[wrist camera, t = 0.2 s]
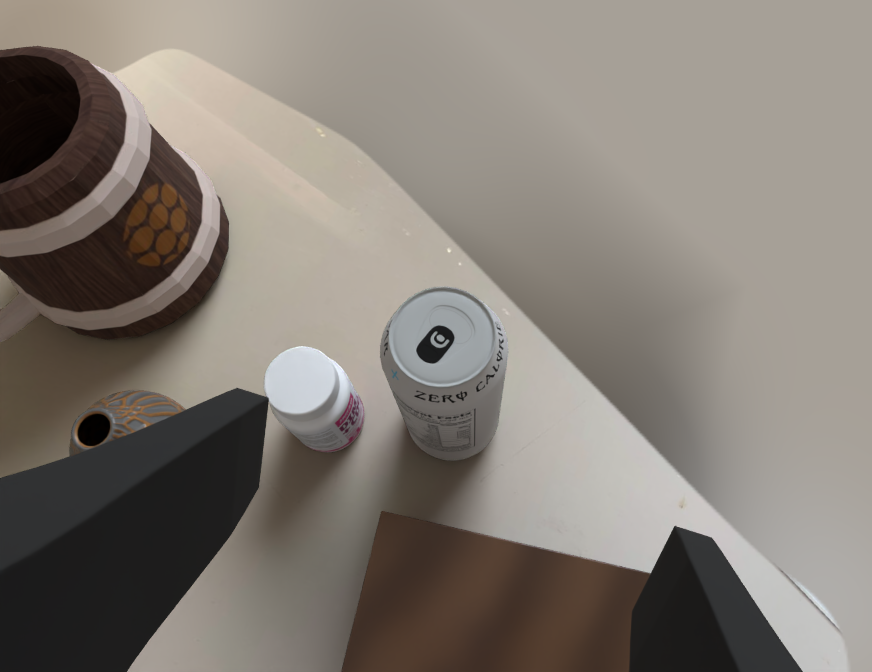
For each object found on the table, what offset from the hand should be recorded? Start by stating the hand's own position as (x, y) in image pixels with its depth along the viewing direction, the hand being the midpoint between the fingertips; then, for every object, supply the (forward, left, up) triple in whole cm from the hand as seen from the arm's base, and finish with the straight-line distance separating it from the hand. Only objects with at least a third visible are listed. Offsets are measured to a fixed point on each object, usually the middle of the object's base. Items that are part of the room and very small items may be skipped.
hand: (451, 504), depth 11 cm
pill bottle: (+7, +11, -31) cm, 33 cm away
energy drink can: (+9, +3, -31) cm, 32 cm away
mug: (+14, +30, -31) cm, 45 cm away
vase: (+2, +21, -31) cm, 37 cm away
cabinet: (-5, -2, -30) cm, 31 cm away
